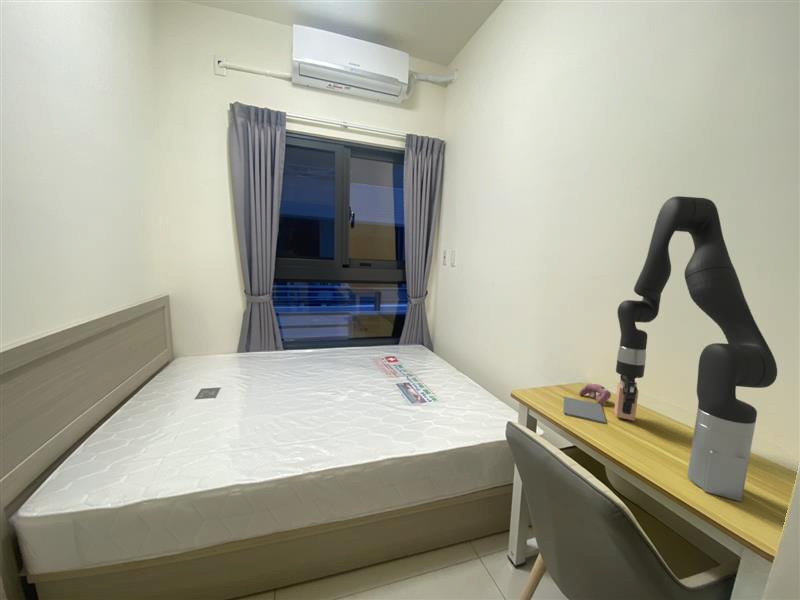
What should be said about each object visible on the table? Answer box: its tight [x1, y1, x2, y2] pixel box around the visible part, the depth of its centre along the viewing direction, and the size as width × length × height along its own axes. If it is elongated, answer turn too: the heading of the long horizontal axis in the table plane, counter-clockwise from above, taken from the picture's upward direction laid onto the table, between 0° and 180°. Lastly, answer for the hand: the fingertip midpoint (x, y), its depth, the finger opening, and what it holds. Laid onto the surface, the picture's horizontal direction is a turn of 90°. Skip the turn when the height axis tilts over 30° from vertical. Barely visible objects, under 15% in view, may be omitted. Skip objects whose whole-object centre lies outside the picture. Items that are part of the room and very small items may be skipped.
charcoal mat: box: [563, 396, 607, 424], centre depth 112 cm, size 16×12×1 cm
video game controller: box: [579, 382, 612, 405], centre depth 121 cm, size 10×5×7 cm, turn 15°
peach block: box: [613, 382, 639, 421], centre depth 107 cm, size 5×5×10 cm
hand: (624, 410), depth 107 cm, fingers closed on peach block, 5 cm apart
